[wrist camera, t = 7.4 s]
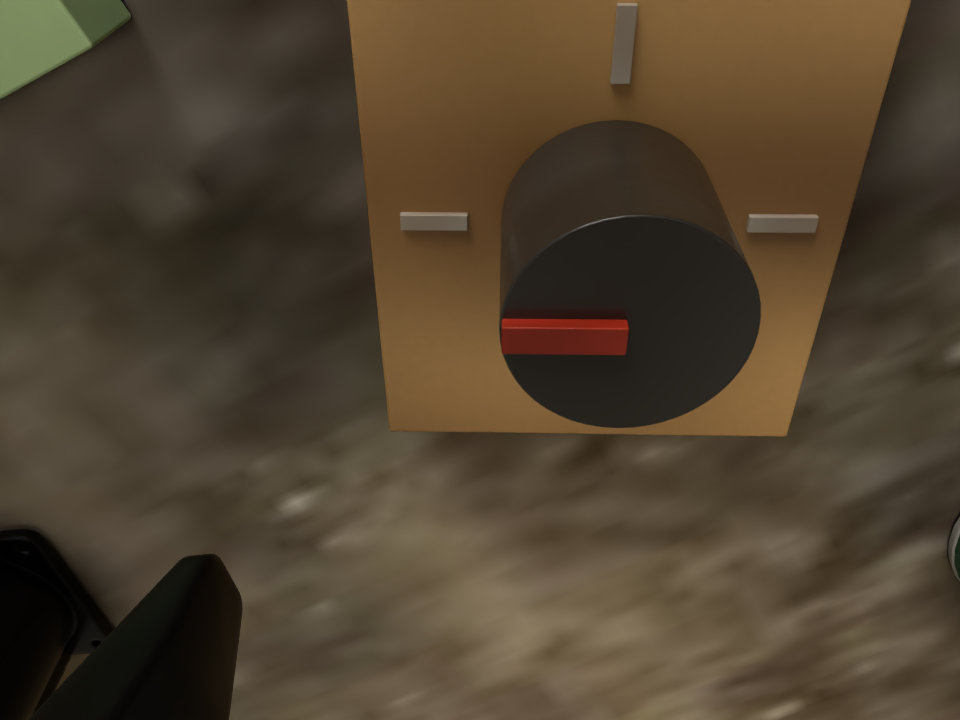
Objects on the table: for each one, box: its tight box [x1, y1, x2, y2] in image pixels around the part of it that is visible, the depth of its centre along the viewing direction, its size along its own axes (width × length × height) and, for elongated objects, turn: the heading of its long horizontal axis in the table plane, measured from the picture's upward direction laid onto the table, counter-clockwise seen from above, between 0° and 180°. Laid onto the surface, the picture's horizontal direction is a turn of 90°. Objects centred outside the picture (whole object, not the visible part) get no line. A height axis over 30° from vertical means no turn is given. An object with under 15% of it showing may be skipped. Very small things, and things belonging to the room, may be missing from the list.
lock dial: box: [499, 120, 761, 428], centre depth 16 cm, size 4×4×4 cm
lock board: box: [347, 0, 911, 436], centre depth 18 cm, size 12×10×3 cm
